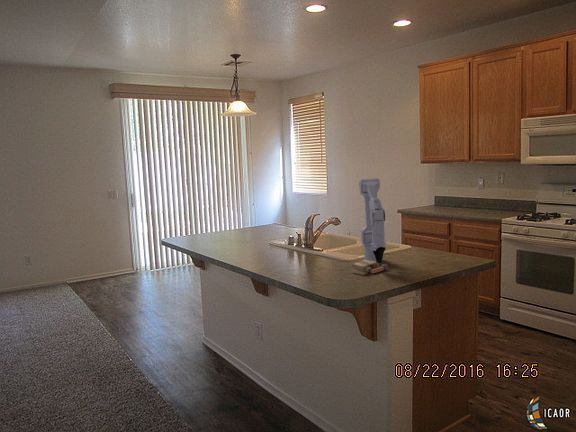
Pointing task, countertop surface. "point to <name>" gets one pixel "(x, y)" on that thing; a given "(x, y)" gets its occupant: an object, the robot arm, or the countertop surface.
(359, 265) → the block
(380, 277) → the countertop surface
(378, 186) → the robot arm
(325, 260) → the countertop surface
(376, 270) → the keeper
